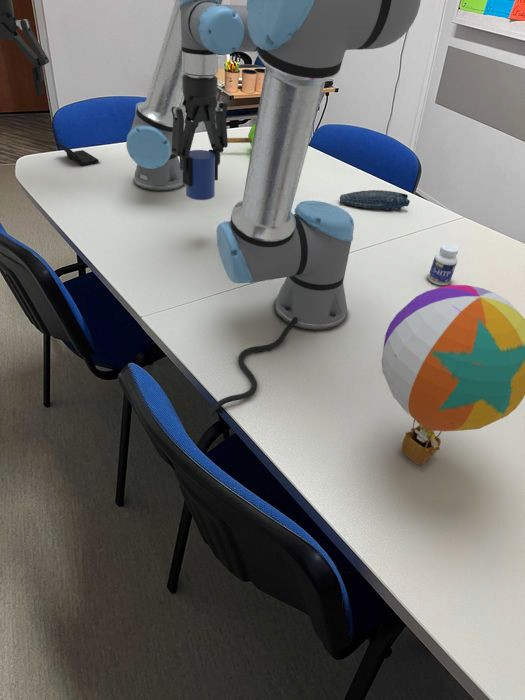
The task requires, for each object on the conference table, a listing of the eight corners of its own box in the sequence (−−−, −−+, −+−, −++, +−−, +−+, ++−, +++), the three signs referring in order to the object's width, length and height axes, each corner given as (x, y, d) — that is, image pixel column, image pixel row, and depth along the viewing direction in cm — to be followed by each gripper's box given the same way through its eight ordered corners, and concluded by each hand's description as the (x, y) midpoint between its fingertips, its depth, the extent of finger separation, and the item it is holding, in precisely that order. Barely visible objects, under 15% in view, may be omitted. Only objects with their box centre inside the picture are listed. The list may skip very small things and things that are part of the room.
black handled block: (103, 155, 172) (82, 133, 163) (91, 173, 171) (70, 152, 162) (82, 151, 178) (61, 130, 170) (71, 168, 177) (49, 148, 168)
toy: (330, 445, 83) (367, 285, 64) (404, 395, 93) (455, 244, 75) (432, 532, 72) (514, 369, 53) (503, 464, 82) (592, 308, 64)
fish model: (408, 214, 157) (412, 198, 153) (339, 207, 158) (341, 191, 154) (406, 206, 162) (410, 190, 159) (339, 199, 163) (341, 183, 160)
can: (191, 201, 123) (190, 160, 117) (183, 190, 127) (181, 150, 122) (218, 198, 125) (219, 158, 119) (209, 188, 130) (209, 149, 124)
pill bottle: (426, 282, 126) (437, 249, 120) (429, 272, 130) (439, 240, 124) (449, 287, 124) (460, 254, 119) (450, 277, 128) (461, 245, 123)
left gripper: (-71, -12, 117) (-43, 91, 130) (40, -1, 117) (57, 100, 131) (-54, -14, 123) (-29, 84, 136) (52, -4, 123) (66, 93, 137)
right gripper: (225, 68, 118) (223, 169, 132) (150, 74, 107) (156, 184, 121) (246, 74, 114) (242, 178, 128) (170, 81, 103) (174, 194, 117)
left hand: (13, 92), depth 133 cm, fingers open, 13 cm apart
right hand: (200, 181), depth 124 cm, fingers closed on can, 7 cm apart
